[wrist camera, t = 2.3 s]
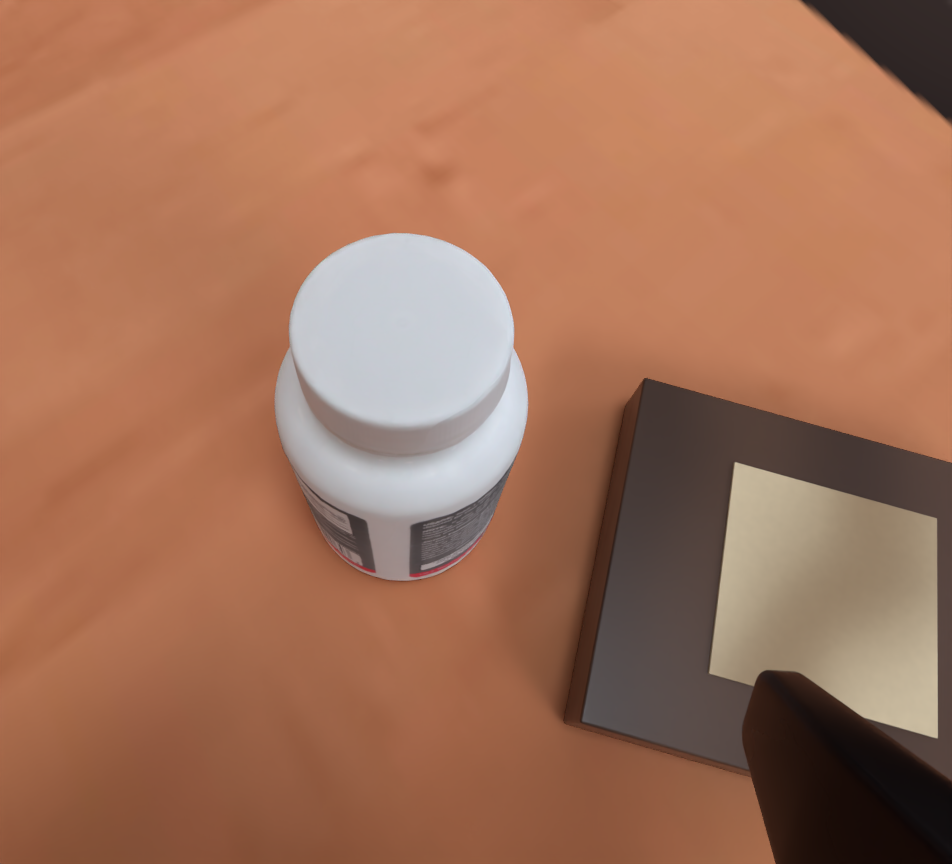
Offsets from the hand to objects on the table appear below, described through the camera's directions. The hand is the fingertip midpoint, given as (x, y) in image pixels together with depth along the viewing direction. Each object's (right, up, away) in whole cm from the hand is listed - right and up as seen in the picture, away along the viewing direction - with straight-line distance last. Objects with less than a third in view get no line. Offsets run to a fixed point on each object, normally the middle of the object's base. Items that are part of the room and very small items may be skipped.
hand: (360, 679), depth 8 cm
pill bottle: (-1, +1, +14) cm, 14 cm away
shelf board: (+11, -2, +13) cm, 17 cm away
